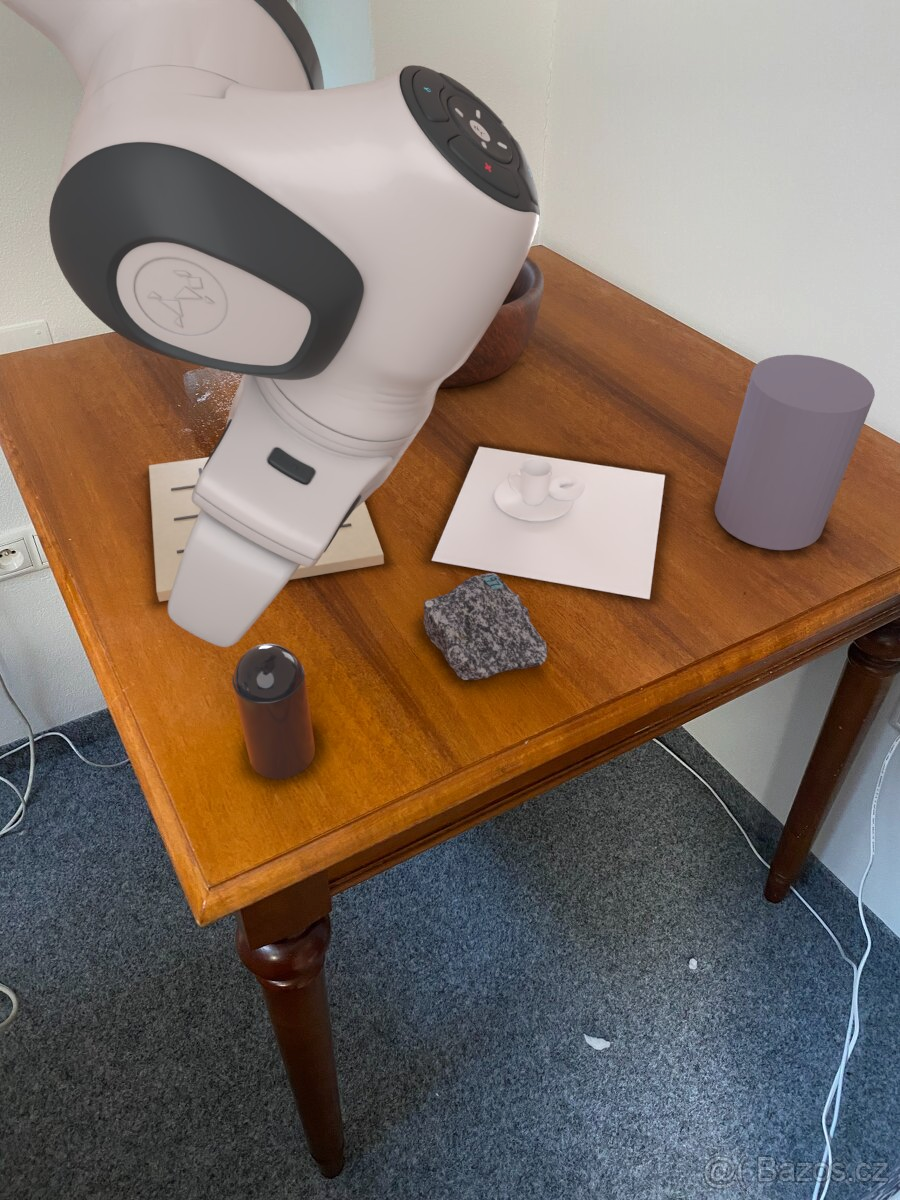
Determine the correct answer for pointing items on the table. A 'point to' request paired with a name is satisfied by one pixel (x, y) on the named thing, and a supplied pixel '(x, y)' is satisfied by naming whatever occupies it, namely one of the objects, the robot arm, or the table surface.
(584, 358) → the table surface
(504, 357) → the wooden bowl
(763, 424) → the container
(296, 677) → the dome-topped canister
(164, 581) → the board
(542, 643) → the rock
